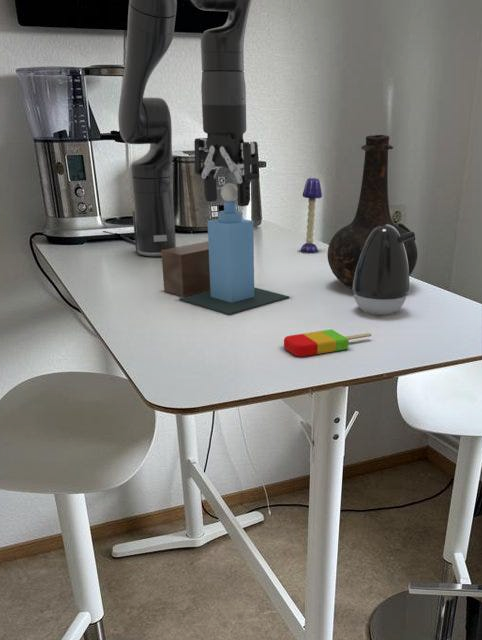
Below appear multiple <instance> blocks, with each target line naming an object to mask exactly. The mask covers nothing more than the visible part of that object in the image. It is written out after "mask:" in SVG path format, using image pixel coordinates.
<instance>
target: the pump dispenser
mask: <svg viewBox="0 0 482 640" xmlns="http://www.w3.org/2000/svg"><path fill="white" fill-rule="evenodd" d="M414 237H415V238H416V232H415V231H414V230H413V231H411V232H408V233H404V234H399V232H398V231H397V229H396V228H394V227H393V226H391V225H387V224H384V225H380V226H377V227H376V228H374V229H373V230H372V232H371V233H370V235H369V236H368V238H367V240H366V242H365V244H364V246H363V248H362V251H361V253H360V256H359V259H358V262H357V266H356V270H355V275H354V280H353V288H352V292H353V294H354V299H355V303H356V304H357V306H358V307H359V308H360V309H361V310H362V311H363V312H365V313H366V314H369V315H373V316H388V315H390V314H391V315H392V314H394V313H395V312H397V311H399V310H400V309H401V308H402V307H403V306H404V303H405V302H406V299H407V296H408V295H409V293H410V276H409V266H408V259H407V254H406V250H405V247H404V244H403V242H405V241H407V240H410V239H411V238H414Z"/></svg>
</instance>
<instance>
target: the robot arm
mask: <svg viewBox="0 0 482 640" xmlns="http://www.w3.org/2000/svg"><path fill="white" fill-rule="evenodd" d="M190 3H192V5H194V7H195V8H197V9H199V10H202V11H210V12H212V11H213V12H228V16H227V18H226V21H225V23H224V24H223V25H221V26H218V27H214V28H210V29H207V30H204V31H203V32H202V34H201V35H200V36H201V37H200V53H201V54H200V56H201V82H200V83H201V85H200V88H201V89H200V90H201V92H200V93H201V111H202V115H201V116H202V131H203V132H204V133H205V134H206V137H197V138H194V141H193V142H194V173H195V175H199V176H200V177H201V178H202V180H203V188H204V198H205V200H206V202H216V201H217V200H218V189H217V186H218V185H217V178H216V176H217V175H218V172H219V170H220V169H222V168H225V169H226V168H227V169H229V172H231V173H232V174H233V175H234V177H235V179H236V181H237V184H236V187H237V206H239V207H248V206H249V205H250V202H251V183H252V182H253V181H255V180H259V179H260V165H259V145H258V142H257V141H255V140H254V141H245V140H244V134H245V133H246V132H247V100H246V99H247V96H246V95H247V91H246V90H247V89H246V88H247V87H246V86H247V85H246V79H245V72H244V71H245V66H244V64H245V63H244V60H245V59H244V56H245V55H244V44H245V43H244V42H245V35H246V30H247V29H246V28H247V23H248V22H247V21H248V17H249V12H250V9H251V3H252V0H190ZM177 9H178V1H177V0H128V12H127V13H128V14H127V34H126V48H125V49H126V51H125V62H124V69H123V70H124V71H123V76H122V77H123V78H122V84H121V89H120V96H119V104H118V115H117V118H118V119H117V122H118V131H119V133H120V134H119V135H120V137H121V139H122V140H123V141H124V142H125V143H126V144H129V145H149V150H148V151H147V152H146V153H145V154H144V155H143V156H142V157H140V158H138V159H137V160H135V161H133V162H132V163H131V164H130V176H131V177H130V179H131V188H132V189H131V191H132V200H133V210H132V221H133V222H132V223H133V234H134V235H133V236H134V240H133V239H131V238H130V237H128V236H127V237H125V236H126V235H125V236H123V235H124V234H123V235H120V236H119V238H122V239H123V240H125V241H127V242H128V243H130V244H132V245H134V246H135V252H136V253H137V254H138V255H140V256H142V257H155V258H156V257H162V255H161V250H165V249H170V248H175V247H177V240H176V223H175V222H176V221H175V208H174V193H173V178H172V165H173V142H172V141H173V135H172V132H173V131H172V130H173V129H172V128H173V127H172V116H171V111H170V108H169V105H168V103H167V102H166V100H165V99H163V98H162V97H144V96H145V91H146V87H147V84H148V81H149V79H150V78H151V75H152V74H153V72H154V71H155V69H156V68H157V66H158V65H159V64H160V62H161V61H162V59H163V58H164V57H165V55H166V54H167V52H168V50H169V48H170V46H171V44H172V42H173V39H174V34H175V26H176V17H177Z"/></svg>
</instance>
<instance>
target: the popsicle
mask: <svg viewBox="0 0 482 640" xmlns="http://www.w3.org/2000/svg"><path fill="white" fill-rule="evenodd" d="M369 337H372V333H370V332H365V333H360V334H353V335H347V336H345V335H342V334H340V333H339V332H337V331H336V330H334V329H332V328H331V329H325V330H318V331H311V332H305V333H298V334H291V335H287V336H285V337H284V339H283V348H284V350H286V351H288V352H289V353H291V354H292V355H293V356H295V357H308V356H314V355H319V354H326V353H333V352H338V351H344V350H347V349H348V348H349V344H350V343H349V341H351V340H356V339H362V338H369Z"/></svg>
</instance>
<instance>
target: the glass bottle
mask: <svg viewBox="0 0 482 640" xmlns="http://www.w3.org/2000/svg"><path fill="white" fill-rule="evenodd" d="M390 139H391V137H390V136H389V135H386V134H374V135H373V134H371V135H367V136H366V135H365V144H364V145H362V146H361V147H360V148H361V150H363V151H364V160H363V161H364V162H363V169H362V179H361V186H360V192H359V198H358V204H357V208H356V212H355V215H354V217H353V219H352V221H351V222H350V223H349V224H347V225H345V226H343V227H342V228H340V229H339V230H338V231H336V233H335V234H334V235H333V236H332V237H331V239H330V241H329V243H328V248H327V255H326V256H327V263H328V265H329V268H330V270H331V272H332V274H333V275H334V276H335V278H336V279H337V280H338V282H340V283H341V284H342V285H344V286H346V287H347V288H350V289H353V280H354V275H355V270H356V266H357V262H358V259H359V256H360V253H361V251H362V248H363V246H364V244H365V242H366V240H367V238H368V236H369V235H370V233H371V232H372V230H373V229H374V228H376V227H377V226H380V225H384V224H387V225H391V226H393V227H394V228H396V229H397V231H398V232H399V234H404V233H408V232H412V231H411V230H410V229H409V228H408V227H407V226H406V225H405V224H403V223H398V225H397V224H395V222H394V221H393V218H392V215H391V210H390V203H389V189H388V188H389V182H388V181H389V179H388V175H389V166H388V165H389V150H393V149H394V146H392V145H391V144H389V143H390ZM403 244H404V247H405V250H406V254H407V259H408V266H409V277H410V276H411V275H412V273H413V271H414V270H415V268H416V266H417V262H418V247H417V243H416V236H415V237H414V238H411V239H410V240H407V241H405V242H403Z"/></svg>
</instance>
